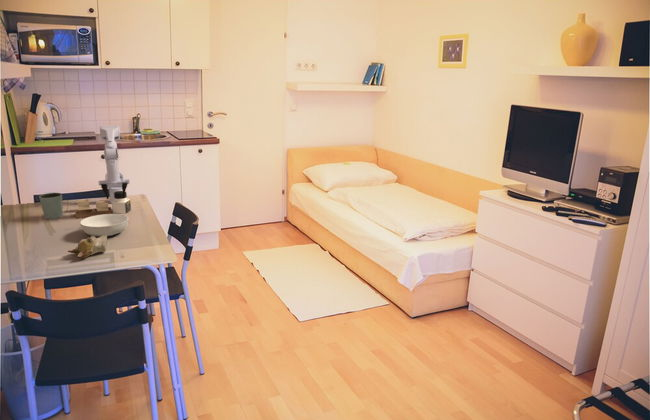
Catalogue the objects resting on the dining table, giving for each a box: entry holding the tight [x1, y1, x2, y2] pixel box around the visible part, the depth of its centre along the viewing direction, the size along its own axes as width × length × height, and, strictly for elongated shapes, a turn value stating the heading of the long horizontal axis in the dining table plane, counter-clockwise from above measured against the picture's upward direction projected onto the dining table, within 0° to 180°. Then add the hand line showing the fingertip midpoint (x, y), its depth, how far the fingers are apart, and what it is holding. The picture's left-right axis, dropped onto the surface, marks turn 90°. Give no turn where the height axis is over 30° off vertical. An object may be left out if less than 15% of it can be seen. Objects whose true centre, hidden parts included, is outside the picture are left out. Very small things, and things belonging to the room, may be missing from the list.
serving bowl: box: [79, 213, 130, 238], centre depth 240 cm, size 21×21×7 cm
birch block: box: [76, 198, 91, 210], centre depth 272 cm, size 4×6×6 cm
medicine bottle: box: [111, 191, 132, 215], centre depth 271 cm, size 7×7×12 cm
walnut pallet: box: [74, 206, 113, 220], centre depth 267 cm, size 10×17×3 cm, turn 117°
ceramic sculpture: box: [67, 235, 108, 259], centre depth 214 cm, size 11×9×15 cm
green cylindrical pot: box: [38, 192, 64, 220], centre depth 261 cm, size 10×10×12 cm
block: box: [95, 200, 109, 212], centre depth 268 cm, size 4×6×6 cm
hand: (115, 198), depth 264 cm, fingers open, 7 cm apart
